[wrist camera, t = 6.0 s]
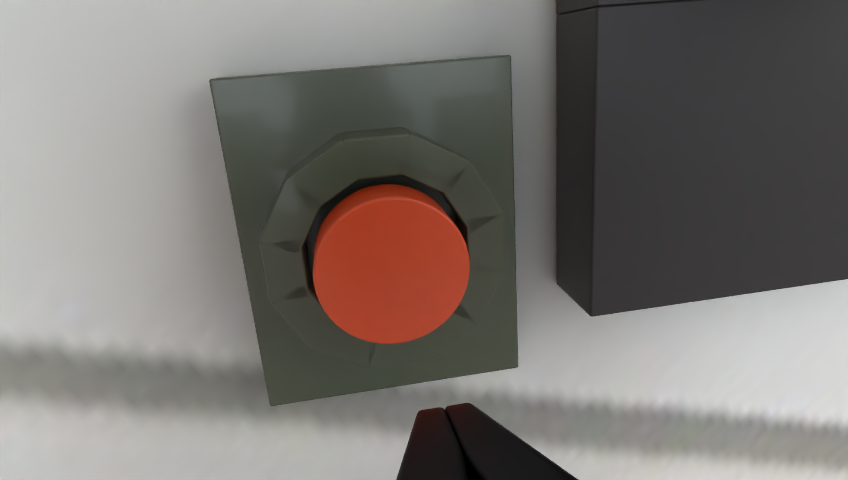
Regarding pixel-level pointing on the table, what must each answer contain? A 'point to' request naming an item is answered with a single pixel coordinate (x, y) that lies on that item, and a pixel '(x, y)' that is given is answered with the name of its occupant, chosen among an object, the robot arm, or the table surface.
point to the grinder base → (700, 149)
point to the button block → (356, 169)
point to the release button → (389, 264)
